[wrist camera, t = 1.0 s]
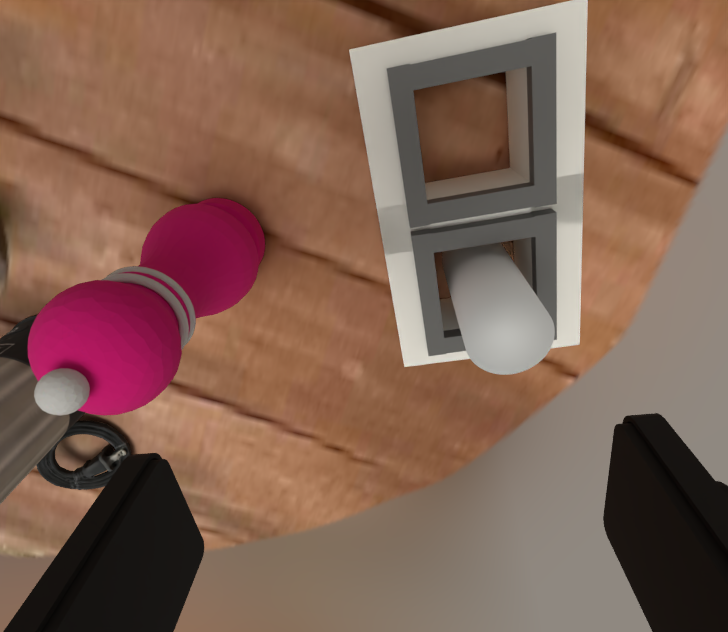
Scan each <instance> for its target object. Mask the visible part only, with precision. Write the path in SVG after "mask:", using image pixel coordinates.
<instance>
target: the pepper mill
mask: <svg viewBox="0 0 728 632" xmlns="http://www.w3.org/2000/svg"><path fill="white" fill-rule="evenodd" d="M264 252H265V238H264V233H263V230H262V228H261V226H260V224H259V222H258V220H257V219H256V218H255V216H254V215H253V214H252V213H251V212H250V211H249V210H248V209H246V208H245V207H244V206H242V205H241V204H239V203H237V202H234V201H232V200H228V199H223V198H211V199H206V200H204V201H201V202H199V203H197V204H188V205H183V206H180V207H177V208H174V209H173V210H171V211H169V212H167V213H166V214H165V215H164V216H163V217H161V218H160V219H159V220H158V221H157V222H156V223H155V224H154V225H153V226H152V228H151V230H150V232H149V233H148V235H147V237H146V240H145V242H144V244H143V247H142V254H141V262H140V265H139V266H133V267H124V268H121V269H118V270H116V271H114V272H112V273H111V274H109V275H108V276H107V277H106V278H104V279H102V280H95V281H90V282H85V283H80V284H77V285H75V286H73V287H71V288H68V289H66V290H65V291H63V292H61V293H59V294H58V295H56V296H55V297H54V298H53V299H52V300H51V301H50V302H49V303H48V304H46V305H45V307H44V308H43V309H42V310H41V311H40V313H39V314H38V315H37V317H36V319H35V321H34V323H33V324H32V326H31V329H30V333H29V337H28V359H29V362H30V366H31V369H32V371H33V373H34V375H35V377H36V378H37V380H38V383H37V384H36V388H35V391H34V397H35V401H36V403H37V404H38V406H39V407H40V408H41V409H42V410H43V411H45V412H47V413H49V414H53V415H60V416H61V415H67V414H70V413H73V412H75V411H77V410H78V411H82V412H86V413H89V414H96V415H118V414H122V413H126V412H129V411H133V410H135V409H137V408H140V407H142V406H144V405H146V404H147V403H149V402H150V401H152V400H153V399H154V398H156V397H157V396H158V395H159V394H160V393H161V392H162V391H163V390H164V389H165V388H166V387H167V386H168V384H169V383H170V382H171V380H172V379H173V378H174V376H175V374H176V372H177V370H178V367H179V363H180V359H181V354H182V352H181V350H182V349H183V347H184V346H185V345H186V344H187V343H188V341H189V340H190V338H191V337H192V335H193V332H194V329H195V324H196V318H199V317H203V316H209V315H214V314H217V313H219V312H222V311H224V310H226V309H228V308H230V307H232V306H233V305H235V304H237V303H238V302H239V301H240V300H241V299H242V298H243V297H244V296H245V295H246V294H247V293H248V291H249V290H250V289H251V288H252V286H253V284H254V282H255V280H256V276H257V273H258V265H259V264H260V262H261V261H262V258H263V256H264Z"/></svg>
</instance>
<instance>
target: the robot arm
mask: <svg viewBox="0 0 728 632" xmlns="http://www.w3.org/2000/svg"><path fill="white" fill-rule="evenodd" d="M603 520H604V527H605V531H606V534H607V537H608V539H609V541H610V543H611V545H612V547H613V549H614V552H615V554H616V556H617V558H618V560H619V562H620V564H621V566H622V568H623V570H624V573H625V575H626V577H627V579H628V581H629V583H630V585H631V587H632V589H633V591H634V594H635V596H636V598H637V600H638V602H639V604H640V606H641V608H642V610H643V613H644V615H645V617H646V619H647V621H648V623H649V625H650V627H651V629H652V631H653V632H728V486H727V485H725V484H724V483H722V482H718V481H715V480H714V479H713V478H712V476H711V475H710V474H709V473H708V471H707V470H706V469H705V468H704V467H703V466H702V464H701V463H700V462H699V461H698V459H697V458H696V457H695V455H694V454H693V453H692V452H691V450H690V449H689V448H688V447H687V446H686V444H685V443H684V442H683V441H682V439H681V438H680V437H679V436H678V435H677V433H676V432H675V431H674V429H673V428H672V427H671V426H670V425H669V423H668V422H667V421H666V420H665V418H663V417H662V416H661V415H660V414H657V413H656V414H644V415H631V416H626V417H625V418H624V420H623V423H622V424H617V425H616V426H615V429H614V435H613V443H612V452H611V459H610V468H609V476H608V484H607V493H606V500H605V508H604V517H603ZM203 553H204V541H203V538H202V536H201V534H200V531H199V529H198V527H197V525H196V523H195V520H194V518H193V516H192V514H191V511H190V509H189V507H188V505H187V503H186V500H185V498H184V496H183V494H182V491H181V489H180V487H179V485H178V482H177V480H176V478H175V476H174V474H173V471H172V469H171V467H170V465H169V463H168V461H167V460H165V459H162V458H161V456H160V455H159V454H157V453H148V454H136V455H129V456H127V457H126V458H125V459H124V460H123V462H122V463H121V465H120V466H119V468H118V469H117V470H116V472H115V473H114V475H113V476H112V478H111V479H110V480H109V482H108V483H107V485H106V486H105V488H104V489H103V490H102V492H101V493H100V495H99V496H98V498H97V499H96V500H95V502H94V503H93V505H92V506H91V508H90V509H89V510H88V512H87V513H86V515H85V516H84V517H83V519H82V520H81V522H80V523H79V525H78V526H77V527H76V529H75V530H74V532H73V533H72V535H71V536H70V537H69V539H68V540H67V542H66V543H65V545H64V546H63V547H62V549H61V550H60V552H59V553H58V555H57V556H56V557H55V559H54V560H53V562H52V563H51V565H50V566H49V567H48V569H47V570H46V572H45V573H44V575H43V576H42V577H41V579H40V580H39V582H38V583H37V585H36V586H35V588H34V589H33V590H32V592H31V593H30V595H29V596H28V597H27V599H26V600H25V602H24V603H23V605H22V606H21V607H20V609H19V610H18V612H17V613H16V614H15V616H14V617H13V619H12V620H11V622H10V623H9V624H8V626H7V627H6V629H5V630H4V632H173V631H174V629H175V626H176V624H177V621H178V619H179V616H180V613H181V611H182V608H183V606H184V603H185V601H186V598H187V596H188V593H189V591H190V588H191V586H192V583H193V581H194V578H195V575H196V573H197V570H198V568H199V565H200V563H201V560H202V557H203Z"/></svg>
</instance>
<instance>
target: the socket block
mask: <svg viewBox="0 0 728 632" xmlns="http://www.w3.org/2000/svg"><path fill="white" fill-rule="evenodd" d="M587 8H588V0H572V1H567V2H563V3H558V4H553V5H549V6H544V7H540V8H535V9H531V10H526V11H522V12H517V13H513V14H508V15H504V16H499V17H495V18H490V19H485V20H481V21H476V22H472V23H467V24H463V25H458V26H454V27H449V28H445V29H440V30H436V31H431V32H426V33H422V34H417V35H413V36H408V37H404V38H399V39H395V40H390V41H386V42H381V43H377V44H372V45H368V46H363V47H358V48H354V49H349V52H350V58H351V64H352V70H353V75H354V81H355V87H356V92H357V98H358V104H359V110H360V115H361V121H362V127H363V132H364V138H365V144H366V150H367V155H368V161H369V167H370V173H371V178H372V184H373V190H374V195H375V201H376V207H377V213H378V218H379V224H380V230H381V236H382V241H383V247H384V253H385V258H386V264H387V270H388V276H389V281H390V287H391V293H392V298H393V304H394V310H395V316H396V321H397V327H398V333H399V339H400V344H401V350H402V356H403V361H404V367H408V366H416V365H424V364H431V363H439V362H447V361H455V360H463V359H471V360H472V361H473V362H474V363H475V364H476V365H477V366H478V367H480V368H481V369H483V370H485V371H488V372H491V373H494V374H504V375H506V374H515V373H519V372H522V371H525V370H527V369H529V368H531V367H533V366H535V365H536V364H538V363H539V362H540V361H541V360H542V359H543V358H544V357H545V356H546V355H547V353H548V352H549V350H550V348H557V347H565V346H573V345H580V307H581V264H582V222H583V179H584V136H585V93H586V50H587ZM505 71H506V91H507V114H508V136H509V158H510V168H506V169H501V170H495V171H490V172H484V173H478V174H473V175H467V176H462V177H456V178H450V179H445V180H439V181H434V182H428V183H425V180H424V172H423V164H422V156H421V148H420V140H419V132H418V124H417V116H416V108H415V100H414V92H413V90H417V89H422V88H427V87H432V86H437V85H442V84H447V83H451V82H456V81H461V80H466V79H471V78H476V77H481V76H486V75H491V74H495V73H500V72H505ZM512 240H513V247H514V262H513V260H512V259H511V257H510V256H509V254H508V253H507V251H506V250H505V248H504V247H503V245H502V244H501V243H500V242H506V241H512ZM442 251H443V253H442V266H443V270H444V273H445V277H446V280H447V284H448V288H449V291H450V295H451V298H447V299H440V300H439V292H438V284H437V276H436V268H435V260H434V253H436V252H442Z"/></svg>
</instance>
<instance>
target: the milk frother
mask: <svg viewBox="0 0 728 632" xmlns="http://www.w3.org/2000/svg"><path fill="white" fill-rule="evenodd" d="M36 317H37V315H36V316H32V317H29V318H26V319H24V320H23V321H21V322H19V323H18V324H17V325H16V326H15V327H14V328H13V329H12V330H11V331H10V332H9V333H7V334H6V335H5V336H3V337H2V338H1V339H0V504H1V503H2V502H3V501H4V500H5V499H6V497H7V496H8V495H9V494H10V493H11V492H12V491H13V490H14V489H15V488H16V487H17V485H18V484H19V483H20V482H21V481H22V480H23V479H24V478H25V477H26V476H27V475H28V474H29V472H30V471H31V470H32V469H33V468H34V467H35V466H36V465H37V469H38V471H39V473H40V474H41V475H42V476H43V477H44V478H45V479H46V480H47V481H49V482H50V483H52V484H54V485H56V486H60V487H64V488H70V489H79V490H81V489H84V490H85V489H95V488H100V487H104V486H106V485H107V483H108V482H109V480H110V479H111V478H112V476H113V475H114V473H115V472H116V470H117V469H118V468H119V466H120V465H121V463H122V462H123V460H124V459H125V458H126V457H127V456H129V455H132V454H131V449H130V447H129V444H128V442H127V441H126V439H125V438H124V437H123V436H122V435H121V434H120V433H119V432H118V431H117V430H116V429H114V428H113V427H111V426H109V425H108V424H105V423H101V422H97V421H92V420H90V421H86V420H81V421H78V420H79V418H80V417H81V416H82V415H83V414H84V413H85V412H82V411H78V410H77V411H75V412H73V413H70V414H67V415H61V416H60V415H53V414H49V413H47V412H45V411H43V410H42V409H41V408H40V407H39V406H38V404H37V403H36V401H35V397H34V391H35V388H36V384H37V383H38V380H37V378H36V377H35V375H34V373H33V371H32V369H31V366H30V362H29V359H28V337H29V333H30V329H31V326H32V324H33V323H34V321H35V319H36ZM76 434H89V435H94V436H97V437H100V438H103V439H104V440H106V441H108V442H109V443H110V444H111V445H112V446H113V447H114V448H115V451H114V450H113V448H112V447H111V446H110V445H107V446H106V447H105V448H104V449H103V450H102V452H101V453H100V454H98V455H97V456H96V457H95V458H94V459H92V460H88V461H87V462H86V463H85V464H84V465H83V467H80V468H77V469H76V470H75V471H69V470H66V469H65V468H62V467H60V466H59V465H58V463H57V461H56V459H55V449H56V447H57V445H58V443H59V442H60V441H61V440H63V439H64V438H66V437H69V436H72V435H76ZM105 470H108V471H107V472H104V471H105ZM102 472H104V473H102ZM100 473H102V474H100ZM97 474H99V475H97ZM94 475H97V476H94Z"/></svg>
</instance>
